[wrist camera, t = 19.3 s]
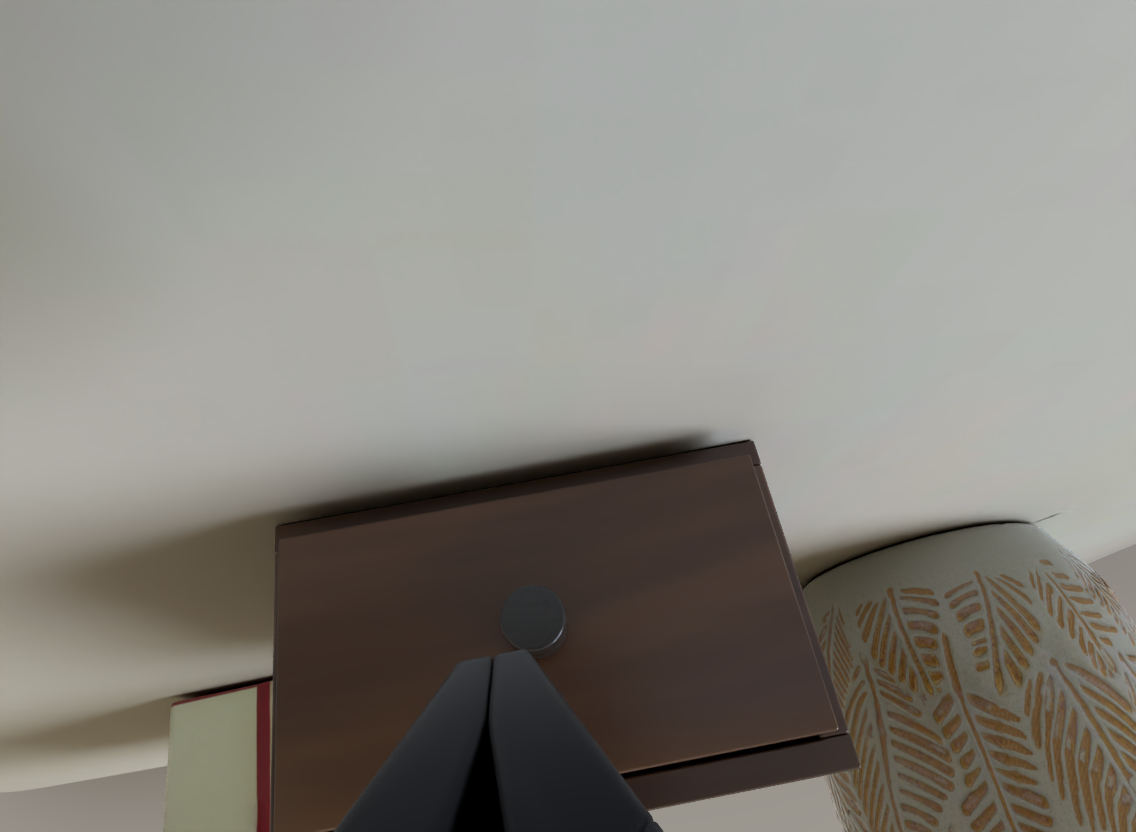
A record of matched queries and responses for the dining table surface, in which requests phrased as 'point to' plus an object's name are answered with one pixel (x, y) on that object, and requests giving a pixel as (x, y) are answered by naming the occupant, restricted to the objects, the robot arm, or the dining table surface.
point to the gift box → (220, 762)
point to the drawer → (545, 626)
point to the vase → (980, 686)
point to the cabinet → (677, 778)
